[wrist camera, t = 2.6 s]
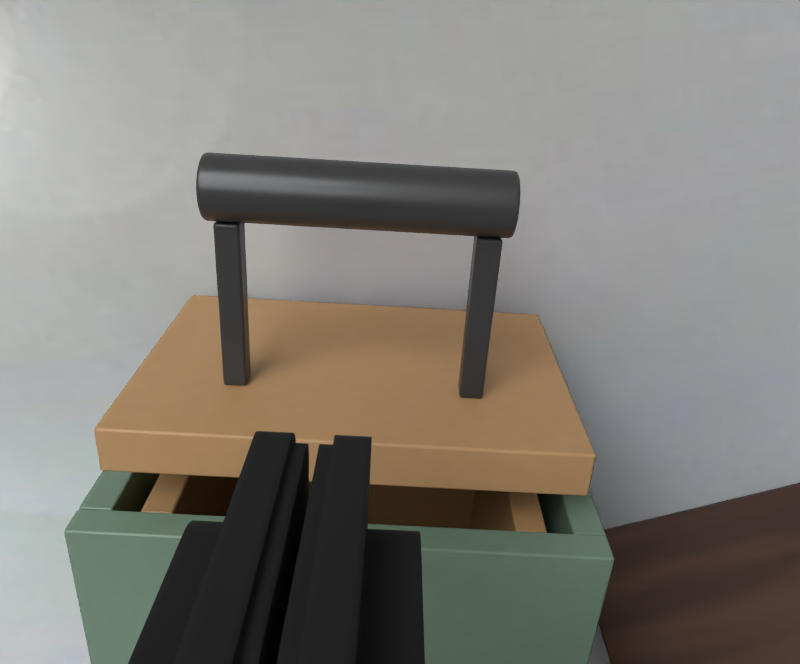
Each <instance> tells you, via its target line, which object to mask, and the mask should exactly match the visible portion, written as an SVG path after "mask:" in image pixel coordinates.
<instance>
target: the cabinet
mask: <svg viewBox="0 0 800 664" xmlns="http://www.w3.org/2000/svg"><path fill="white" fill-rule="evenodd" d="M159 475H160V474H157V473H137V472H118V471H103V472H102V473H101V475H100V476H99V478H98V479H97V481H96V482H95V484H94V486H93V487H92V489H91V490H90V492H89V493H88V495H87V496H86V498H85V499H84V501H83V503H82V504H81V506H80V508H79V510H78V511H77V512H76V514H75V515H74V517H73V518H72V520H71V521H70V523H69V524H68V526H67V528H66V529H65V538H66V543H67V548H68V552H69V557H70V562H71V567H72V572H73V577H74V582H75V587H76V592H77V597H78V601H79V606H80V611H81V616H82V621H83V626H84V631H85V636H86V641H87V646H88V650H89V655H90V660H91V664H128V662H129V660H130V658H131V655H132V653H133V650H134V648H135V646H136V643H137V641H138V639H139V636H140V634H141V632H142V629H143V627H144V624H145V622H146V620H147V617H148V615H149V613H150V610H151V608H152V605H153V603H154V601H155V598H156V596H157V594H158V591H159V589H160V587H161V584H162V582H163V579H164V577H165V575H166V572H167V570H168V568H169V565H170V563H171V560H172V558H173V556H174V553H175V551H176V549H177V546H178V544H179V541H180V539H181V537H182V534H183V532H184V530H185V528H186V526H187V525H188V523H190V522H191V521H192V520H195V521H216V522H223V521H224V518H225V516H210V515H191V514H171V513H152V512H141V510H142V508H143V506H144V504H145V502H146V500H147V498H148V496H149V495H150V493H151V491H152V489H153V487H154V485H155V483H156V481H157V479H158V477H159ZM537 496H538V500H539V503H540V507H541V511H542V515H543V519H544V523H545V526H546V530H547V533H540V532H521V531H502V530H482V529H463V528H443V527H424V526H404V525H385V524H368V529H382V530H403V531H420V535H421V556H422V587H423V619H424V650H425V664H588V660H589V657H590V653H591V649H592V645H593V641H594V637H595V633H596V629H597V625H598V621H599V618H600V614H601V610H602V606H603V602H604V598H605V594H606V590H607V586H608V583H609V579H610V575H611V571H612V567H613V563H614V556H613V554H612V551H611V548H610V546H609V543H608V540H607V538H606V536H605V532H604V529H603V526H602V524H601V521H600V518H599V515H598V513H597V510H596V507H595V505H594V502H593V499H592V496H591V494H590V491H589V490H588V494H587V495H586V496H577V495H558V494H539V493H537Z"/></svg>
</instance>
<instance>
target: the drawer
mask: <svg viewBox="0 0 800 664" xmlns="http://www.w3.org/2000/svg"><path fill="white" fill-rule="evenodd" d="M196 192H197V202H198V207H199V211H200V214H201V216H202V217H203V219H205V220H207V221H216V222H215V223H214V241H215V257H216V272H217V288H218V297H214V296H196V295H193V296H191V297H190V299H189V300H188V301H187V303H186V304H185V305H184V307H183V308H182V310H181V311H180V312H179V314H178V315H177V316H176V318H175V319H174V320H173V322H172V323H171V325H170V326H169V327H168V329H167V330H166V331H165V333H164V334H163V336H162V337H161V338H160V340H159V341H158V342H157V344H156V345H155V346H154V348H153V349H152V351H151V352H150V353H149V355H148V356H147V357H146V359H145V360H144V361H143V363H142V364H141V366H140V367H139V368H138V370H137V371H136V372H135V374H134V375H133V377H132V378H131V379H130V381H129V382H128V383H127V385H126V386H125V387H124V389H123V390H122V392H121V393H120V394H119V396H118V397H117V398H116V400H115V401H114V402H113V404H112V405H111V407H110V408H109V409H108V411H107V412H106V413H105V415H104V416H103V418H102V419H101V420H100V422H99V423H98V424H97V426H96V427H95V429H94V432H95V438H96V444H97V450H98V456H99V462H100V468H101V470H103V471H118V472H137V473H157V474H160V475H159V477H158V479H157V481H156V483H155V485H154V487H153V489H152V491H151V493H150V495H149V496H148V498H147V500H146V502H145V504H144V506H143V508H142V510H141V512H152V513H171V514H191V515H210V516H225V515H226V513H227V510H228V507H229V504H230V501H231V498H232V496H233V493H234V490H235V487H236V484H237V481H238V479H239V476H240V473H241V470H242V467H243V464H244V462H245V459H246V456H247V453H248V450H249V447H250V445H251V442H252V439H253V436H254V434H255V432H256V431H269V432H289V433H294V434H295V439H296V443H308V446H309V494H310V489H311V483H312V478H313V473H314V468H315V463H316V458H317V453H318V448H319V445H320V444H328V445H333V441H334V436H335V435H348V436H368V437H372V446H371V467H370V489H369V510H368V524H385V525H404V526H424V527H443V528H463V529H482V530H502V531H521V532H540V533H547V530H546V526H545V523H544V519H543V515H542V511H541V507H540V503H539V500H538V496H537V493H539V494H558V495H577V496H586V495H587V494H588V490H589V485H590V481H591V476H592V472H593V467H594V463H595V458H596V455H595V452H594V450H593V447H592V445H591V443H590V440H589V438H588V435H587V433H586V430H585V428H584V426H583V423H582V421H581V418H580V416H579V413H578V411H577V409H576V406H575V404H574V401H573V399H572V396H571V394H570V392H569V389H568V387H567V384H566V382H565V379H564V377H563V375H562V372H561V370H560V367H559V365H558V362H557V360H556V358H555V355H554V353H553V350H552V348H551V345H550V343H549V341H548V338H547V336H546V333H545V331H544V328H543V326H542V324H541V321H540V319H539V316H538V315H534V314H516V313H498V312H494V304H495V296H496V288H497V280H498V273H499V265H500V257H501V249H502V240H501V238H510V237H512V236H513V234H514V232H515V229H516V225H517V220H518V214H519V206H520V180H519V176H518V173H517V172H516V171H508V170H491V169H474V168H457V167H440V166H424V165H407V164H390V163H373V162H356V161H340V160H323V159H306V158H289V157H272V156H255V155H239V154H222V153H205V154H203V156H202V157H201V159H200V162H199V166H198V171H197V180H196ZM244 223H257V224H275V225H292V226H309V227H326V228H344V229H361V230H378V231H395V232H412V233H430V234H447V235H464V236H474V244H473V254H472V263H471V272H470V281H469V290H468V300H467V309H466V311H463V310H445V309H427V308H409V307H392V306H374V305H356V304H338V303H321V302H303V301H285V300H267V299H250V298H248V297H247V274H246V252H245V229H244Z"/></svg>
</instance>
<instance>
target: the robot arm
mask: <svg viewBox="0 0 800 664" xmlns="http://www.w3.org/2000/svg"><path fill="white" fill-rule="evenodd" d="M371 446H372V437H368V436H348V435H335V436H334V441H333V445H328V444H320V445H319V448H318V453H317V458H316V463H315V468H314V473H313V478H312V483H311V489H310V494H309V446H308V443H296V439H295V434H294V433H289V432H269V431H256V432H255V434H254V436H253V439H252V442H251V445H250V447H249V450H248V453H247V456H246V459H245V462H244V464H243V467H242V470H241V473H240V476H239V479H238V481H237V484H236V487H235V490H234V493H233V496H232V498H231V501H230V504H229V507H228V510H227V513H226V515H225V518H224V521H223V522H216V521H195V520H192V521H191V522H190V523H188V525H187V526H186V528H185V530H184V532H183V534H182V537H181V539H180V541H179V544H178V546H177V549H176V551H175V553H174V556H173V558H172V560H171V563H170V565H169V568H168V570H167V572H166V575H165V577H164V579H163V582H162V584H161V587H160V589H159V591H158V594H157V596H156V598H155V601H154V603H153V605H152V608H151V610H150V613H149V615H148V617H147V620H146V622H145V624H144V627H143V629H142V632H141V634H140V636H139V639H138V641H137V643H136V646H135V648H134V650H133V653H132V655H131V658H130V660H129V662H128V664H425V650H424V619H423V587H422V556H421V535H420V531H403V530H382V529H368V510H369V489H370V467H371Z"/></svg>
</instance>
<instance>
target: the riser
mask: <svg viewBox="0 0 800 664" xmlns="http://www.w3.org/2000/svg"><path fill="white" fill-rule="evenodd" d="M604 532H605V536H606V538H607V540H608V543H609V546H610V548H611V551H612V554H613V556H614V563H613V567H612V571H611V575H610V579H609V583H608V586H607V590H606V594H605V598H604V602H603V606H602V610H601V614H600V618H599V621H598V628H599V631H600V635H601V638H602V642H603V645H604V648H605V652H606V655H607V659H608V662H609V664H800V483H798V484H794V485H790V486H786V487H782V488H778V489H773V490H769V491H765V492H761V493H757V494H753V495H748V496H744V497H740V498H736V499H732V500H728V501H724V502H719V503H715V504H711V505H707V506H703V507H699V508H695V509H690V510H686V511H682V512H678V513H674V514H670V515H665V516H661V517H657V518H653V519H649V520H645V521H641V522H636V523H632V524H628V525H624V526H620V527H616V528H611V529H607V530H604Z"/></svg>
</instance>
